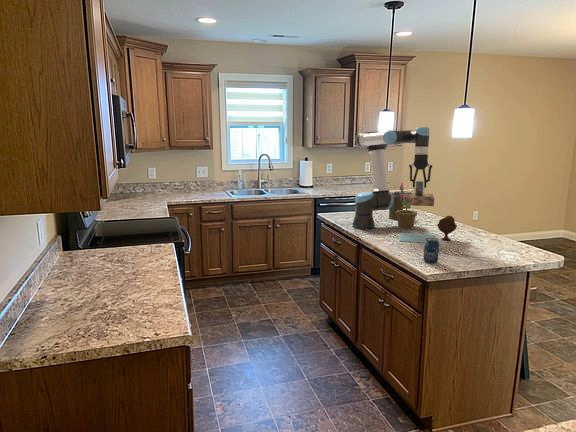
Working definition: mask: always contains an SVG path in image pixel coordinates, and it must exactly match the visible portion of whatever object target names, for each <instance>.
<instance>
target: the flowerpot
mask: <svg viewBox="0 0 576 432" xmlns="http://www.w3.org/2000/svg"><path fill="white" fill-rule="evenodd" d="M399 192H400V193H399V196H400V201H401V199H402V198H403V195H404V193H405V192H404V183H403V182H401V185H400V186H399ZM402 204H403V206H405V209H403V210H398V211H396V215H397V218H398V220H397V226H398V228H401V229H412V228H414V225H415V221H416V217H417V216H418V211H415V210H408V208H409V207H410V205H404V201H403V203H402Z"/></svg>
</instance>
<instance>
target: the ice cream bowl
mask: <svg viewBox="0 0 576 432" xmlns="http://www.w3.org/2000/svg"><path fill="white" fill-rule="evenodd" d="M436 225H437V228H438V230H439V231H440V232H441V233H443V234H444V237H442V238H441V239H440V241H443V242H451V238H450V237H449V234H451V233H453V232H455V231H456V229H457V228H458V225H457V224H456V221H455V218H454V216H452V215H447V216H445V217H444V218H443V217H442V218H440V219H439V221H438V223H436Z"/></svg>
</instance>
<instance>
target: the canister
mask: <svg viewBox="0 0 576 432" xmlns="http://www.w3.org/2000/svg"><path fill="white" fill-rule="evenodd" d="M400 192H401V191H393V194H392V193H391V194H392V195H393V198H394V202H393V205H392V207H391V208H390V209H388V220H393V221H398V218H397V215H396V211H398V210H404V205H403V204H402V203H403V202H404V194H403V198H402V199H401V201H400V196H399V195H400Z"/></svg>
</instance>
